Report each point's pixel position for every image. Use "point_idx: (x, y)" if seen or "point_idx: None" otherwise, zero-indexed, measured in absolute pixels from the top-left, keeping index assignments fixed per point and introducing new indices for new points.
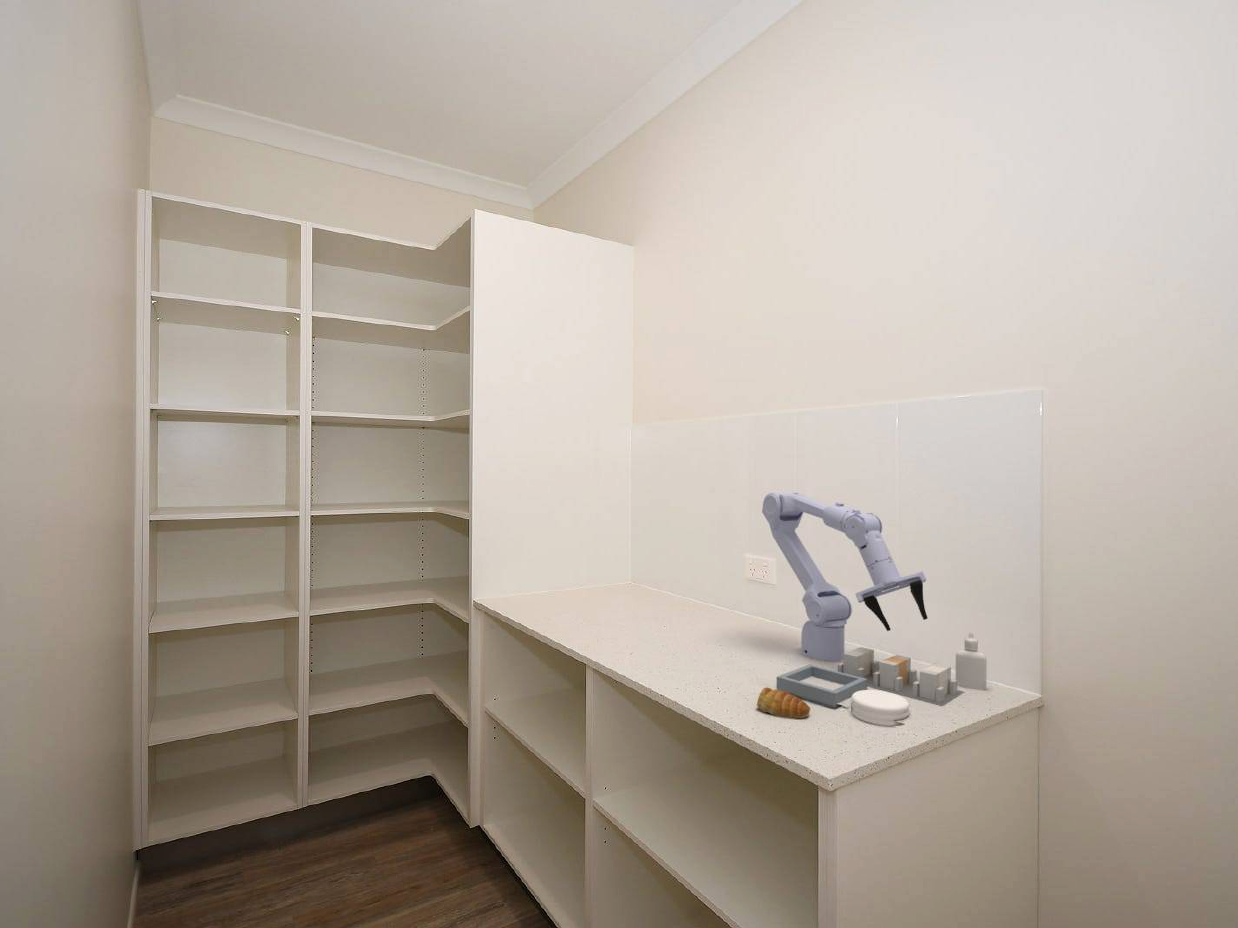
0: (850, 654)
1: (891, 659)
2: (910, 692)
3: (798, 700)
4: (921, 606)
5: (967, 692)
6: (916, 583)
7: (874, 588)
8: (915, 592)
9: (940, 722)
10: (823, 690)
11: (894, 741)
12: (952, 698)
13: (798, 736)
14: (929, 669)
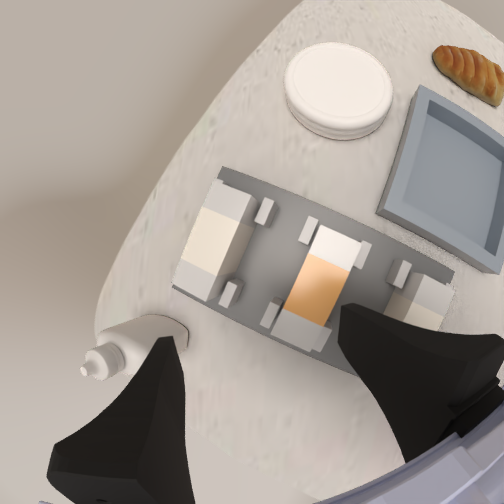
0: (439, 290)
1: (328, 290)
2: (282, 228)
3: (455, 60)
4: (154, 368)
5: (170, 317)
6: (80, 468)
7: (496, 436)
8: (138, 427)
9: (234, 111)
10: (443, 97)
11: (304, 22)
12: None
13: (413, 10)
14: (224, 227)
